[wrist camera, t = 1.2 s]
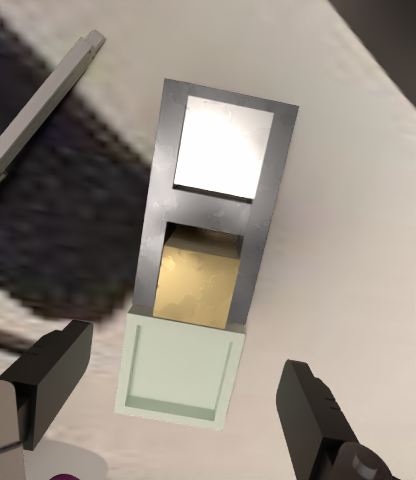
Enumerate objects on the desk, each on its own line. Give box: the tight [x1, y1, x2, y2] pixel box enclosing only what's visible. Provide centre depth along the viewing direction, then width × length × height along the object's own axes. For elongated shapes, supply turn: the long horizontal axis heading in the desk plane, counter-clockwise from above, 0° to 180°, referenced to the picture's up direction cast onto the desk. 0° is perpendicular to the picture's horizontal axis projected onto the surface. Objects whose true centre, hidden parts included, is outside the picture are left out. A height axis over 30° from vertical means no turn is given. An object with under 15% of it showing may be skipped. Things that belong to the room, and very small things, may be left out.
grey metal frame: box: [132, 78, 299, 324], centre depth 24 cm, size 18×10×3 cm, turn 169°
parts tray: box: [113, 304, 246, 431], centre depth 28 cm, size 11×11×2 cm
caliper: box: [0, 30, 106, 183], centre depth 21 cm, size 20×1×6 cm, turn 141°
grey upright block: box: [174, 96, 274, 199], centre depth 21 cm, size 5×5×8 cm
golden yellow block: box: [153, 225, 240, 329], centre depth 22 cm, size 5×5×8 cm
